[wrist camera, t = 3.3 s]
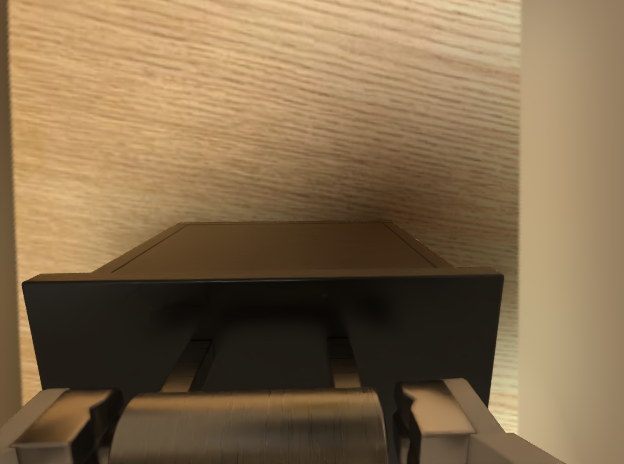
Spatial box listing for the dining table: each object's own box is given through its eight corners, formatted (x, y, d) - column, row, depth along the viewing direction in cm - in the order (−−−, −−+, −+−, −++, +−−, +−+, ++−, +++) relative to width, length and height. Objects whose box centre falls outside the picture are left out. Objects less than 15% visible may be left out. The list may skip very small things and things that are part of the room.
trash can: (178, 222, 22) (46, 296, 11) (391, 220, 22) (487, 289, 11) (197, 431, 25) (113, 659, 14) (382, 426, 26) (447, 643, 14)
